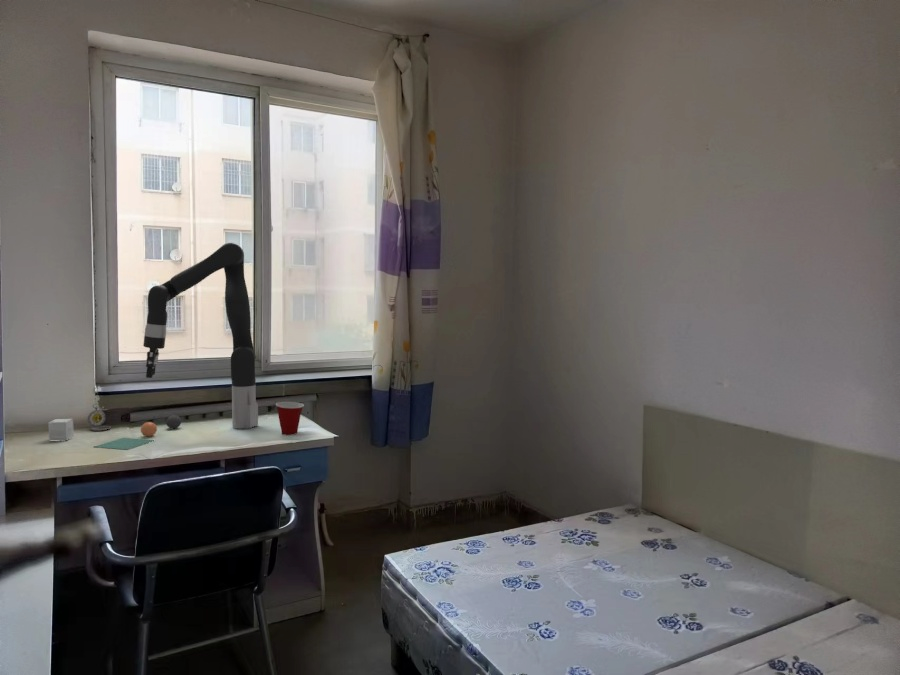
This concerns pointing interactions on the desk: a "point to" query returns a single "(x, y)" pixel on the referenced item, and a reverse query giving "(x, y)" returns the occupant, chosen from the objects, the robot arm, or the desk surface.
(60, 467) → the desk surface
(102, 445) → the green mark
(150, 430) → the terracotta ball
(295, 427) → the plastic cup
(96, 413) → the pocket watch
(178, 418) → the black ball
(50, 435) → the skincare box
